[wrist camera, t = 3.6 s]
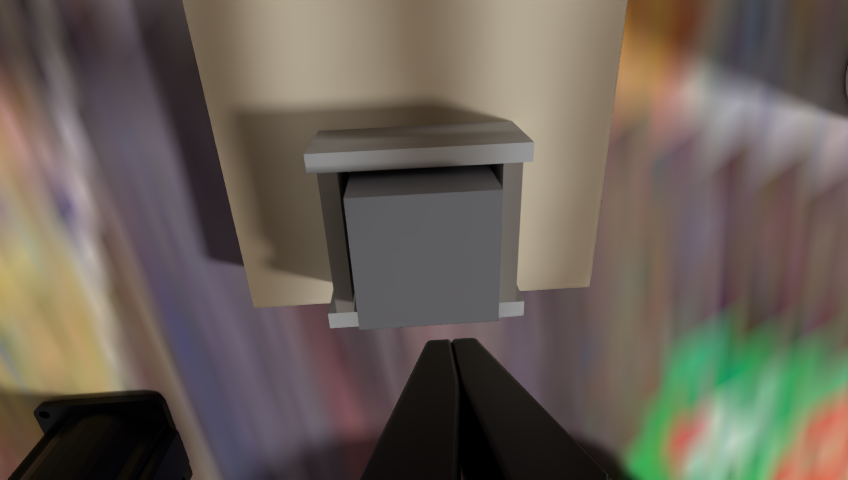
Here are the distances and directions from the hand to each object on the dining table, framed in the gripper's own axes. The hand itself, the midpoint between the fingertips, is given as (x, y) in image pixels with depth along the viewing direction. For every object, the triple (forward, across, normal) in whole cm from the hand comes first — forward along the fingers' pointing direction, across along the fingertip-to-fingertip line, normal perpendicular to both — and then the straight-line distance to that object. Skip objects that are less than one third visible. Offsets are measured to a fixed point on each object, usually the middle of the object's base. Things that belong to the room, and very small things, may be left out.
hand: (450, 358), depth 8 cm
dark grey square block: (+9, 0, +1) cm, 9 cm away
